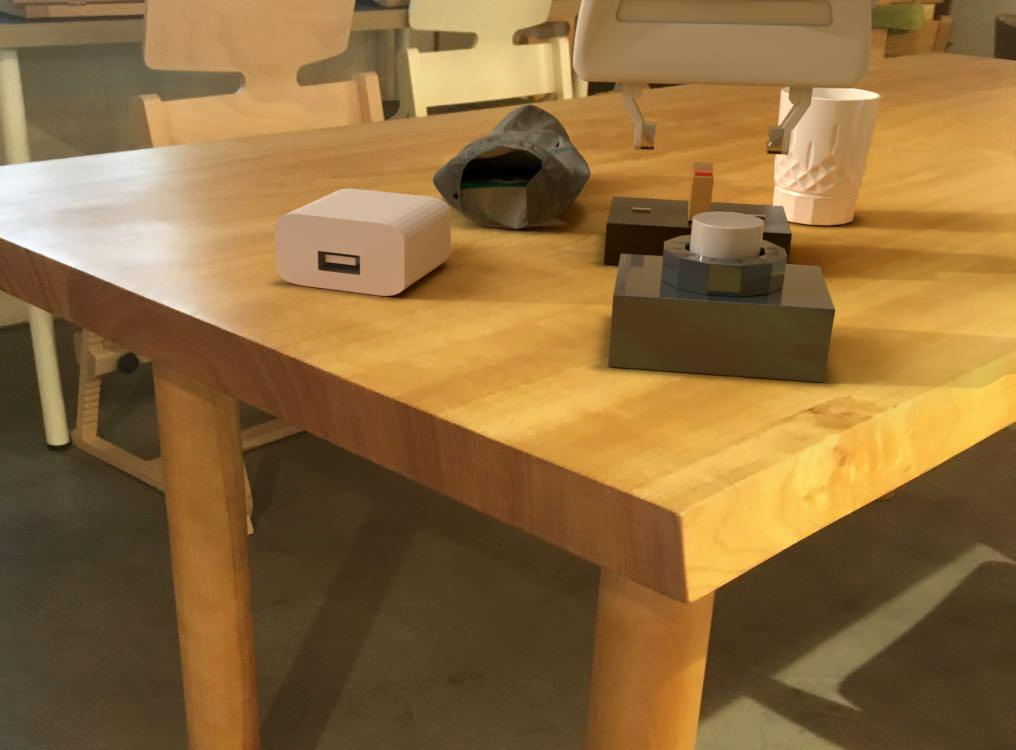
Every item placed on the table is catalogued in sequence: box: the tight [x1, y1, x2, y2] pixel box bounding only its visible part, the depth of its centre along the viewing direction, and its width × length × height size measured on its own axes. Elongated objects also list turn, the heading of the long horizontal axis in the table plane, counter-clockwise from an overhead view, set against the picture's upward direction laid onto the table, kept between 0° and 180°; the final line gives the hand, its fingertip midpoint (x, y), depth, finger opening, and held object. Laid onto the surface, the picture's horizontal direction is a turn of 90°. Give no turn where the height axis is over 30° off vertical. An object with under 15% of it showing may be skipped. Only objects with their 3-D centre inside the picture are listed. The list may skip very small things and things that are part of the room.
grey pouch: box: [432, 103, 592, 230], centre depth 107 cm, size 13×7×25 cm
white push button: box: [689, 212, 764, 260], centre depth 71 cm, size 4×4×2 cm
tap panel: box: [603, 196, 793, 266], centre depth 93 cm, size 13×10×3 cm
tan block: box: [687, 161, 715, 221], centre depth 91 cm, size 6×2×3 cm, turn 171°
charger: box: [274, 188, 452, 297], centre depth 88 cm, size 5×9×15 cm
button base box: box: [607, 235, 836, 383], centre depth 72 cm, size 12×9×6 cm
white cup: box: [772, 87, 882, 226], centre depth 103 cm, size 8×8×10 cm
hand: (710, 151), depth 89 cm, fingers open, 8 cm apart
